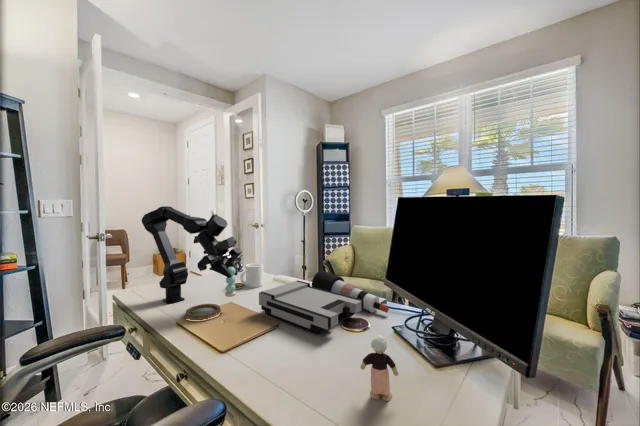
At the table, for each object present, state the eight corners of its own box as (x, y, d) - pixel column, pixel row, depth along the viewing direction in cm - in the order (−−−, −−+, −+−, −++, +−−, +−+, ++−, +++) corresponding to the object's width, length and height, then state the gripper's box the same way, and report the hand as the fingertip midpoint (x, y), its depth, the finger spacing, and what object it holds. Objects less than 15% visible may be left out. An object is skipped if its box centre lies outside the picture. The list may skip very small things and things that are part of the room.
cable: (382, 329, 98) (378, 309, 94) (315, 297, 121) (309, 279, 117) (396, 310, 104) (392, 290, 100) (329, 283, 127) (324, 265, 123)
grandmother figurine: (394, 389, 60) (395, 332, 59) (399, 402, 56) (399, 341, 55) (359, 388, 60) (359, 331, 60) (361, 401, 56) (361, 340, 56)
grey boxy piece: (327, 342, 81) (327, 314, 81) (259, 314, 101) (258, 292, 101) (363, 319, 97) (363, 296, 97) (298, 299, 117) (298, 280, 117)
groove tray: (179, 315, 99) (179, 310, 99) (210, 306, 108) (210, 301, 108) (194, 325, 91) (194, 319, 91) (227, 314, 100) (227, 308, 100)
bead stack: (223, 294, 103) (223, 266, 103) (233, 292, 106) (233, 265, 105) (227, 297, 100) (228, 268, 100) (237, 295, 103) (237, 267, 102)
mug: (245, 291, 127) (245, 269, 127) (235, 287, 133) (235, 266, 132) (266, 285, 136) (266, 264, 136) (256, 282, 141) (256, 262, 141)
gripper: (203, 232, 95) (229, 267, 91) (238, 228, 112) (260, 257, 109) (186, 253, 98) (210, 288, 94) (222, 246, 115) (244, 275, 112)
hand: (233, 276), depth 102 cm, fingers closed on bead stack, 3 cm apart
